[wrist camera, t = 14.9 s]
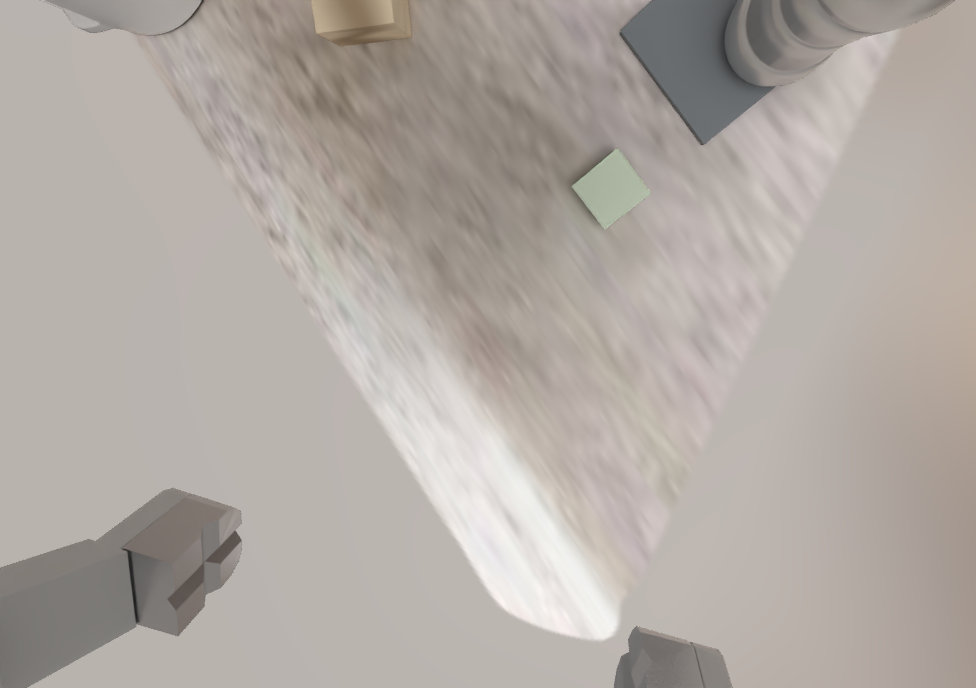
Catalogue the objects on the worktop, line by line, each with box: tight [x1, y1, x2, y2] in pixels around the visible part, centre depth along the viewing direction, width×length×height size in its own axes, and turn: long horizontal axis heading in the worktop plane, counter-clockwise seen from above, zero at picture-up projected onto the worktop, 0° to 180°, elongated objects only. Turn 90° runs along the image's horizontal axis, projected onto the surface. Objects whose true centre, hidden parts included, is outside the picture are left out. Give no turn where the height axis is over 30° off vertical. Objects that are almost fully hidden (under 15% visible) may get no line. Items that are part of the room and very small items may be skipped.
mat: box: [620, 0, 776, 145], centre depth 33 cm, size 10×10×1 cm
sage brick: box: [572, 148, 651, 230], centre depth 36 cm, size 4×4×4 cm
